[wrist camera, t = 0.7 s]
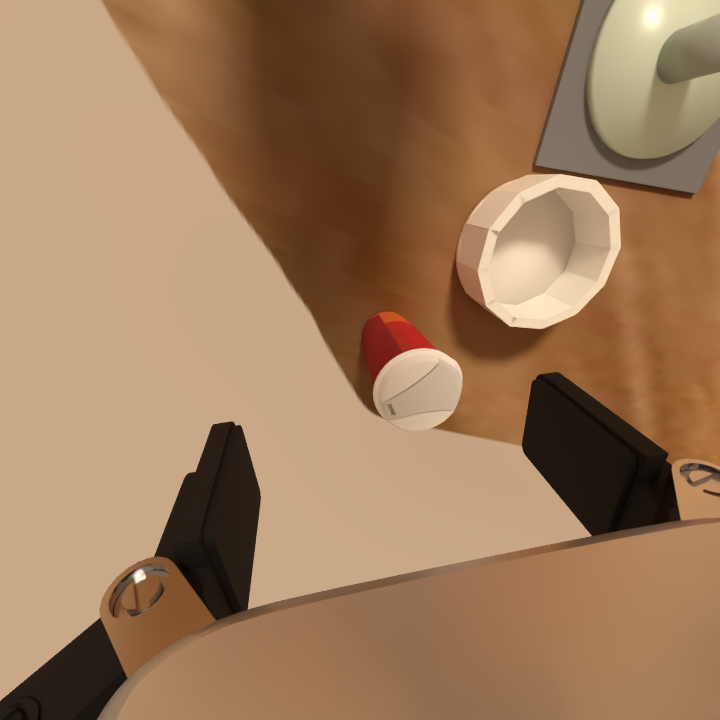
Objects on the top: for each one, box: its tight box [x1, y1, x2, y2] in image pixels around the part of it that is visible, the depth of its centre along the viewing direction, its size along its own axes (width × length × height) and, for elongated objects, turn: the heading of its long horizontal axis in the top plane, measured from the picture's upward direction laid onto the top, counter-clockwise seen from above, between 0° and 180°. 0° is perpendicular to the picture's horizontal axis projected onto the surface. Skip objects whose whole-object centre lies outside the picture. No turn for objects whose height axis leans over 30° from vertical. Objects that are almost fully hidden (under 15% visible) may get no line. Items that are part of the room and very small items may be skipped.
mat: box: [533, 0, 720, 194], centre depth 33 cm, size 20×20×1 cm
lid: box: [586, 0, 720, 159], centre depth 31 cm, size 16×16×6 cm
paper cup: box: [362, 311, 463, 431], centre depth 35 cm, size 8×8×14 cm
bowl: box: [455, 174, 621, 329], centre depth 37 cm, size 14×14×6 cm
